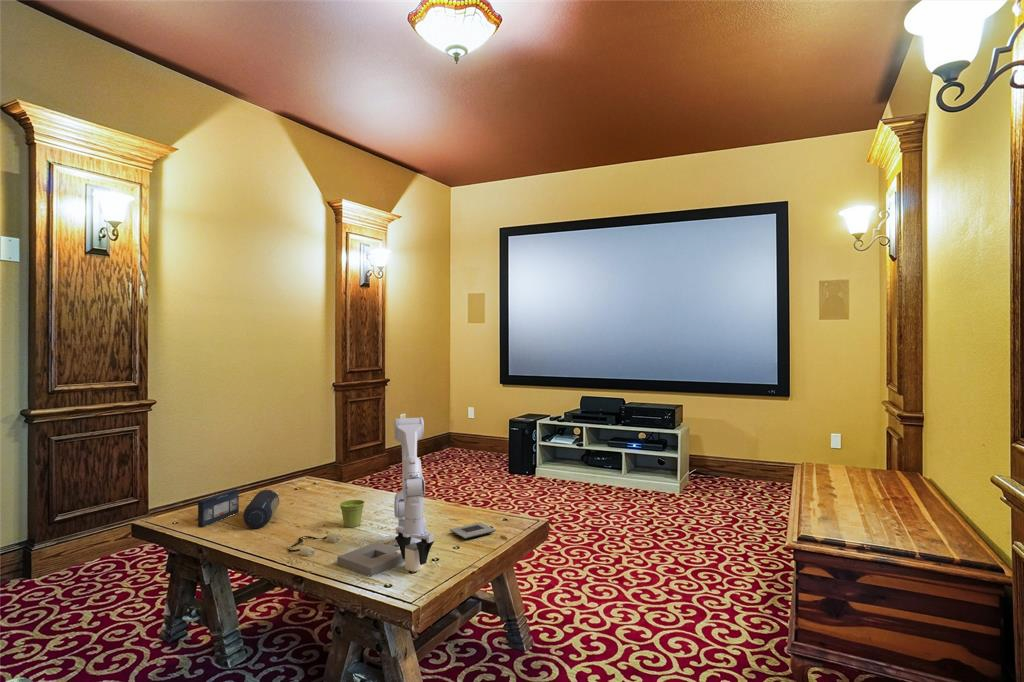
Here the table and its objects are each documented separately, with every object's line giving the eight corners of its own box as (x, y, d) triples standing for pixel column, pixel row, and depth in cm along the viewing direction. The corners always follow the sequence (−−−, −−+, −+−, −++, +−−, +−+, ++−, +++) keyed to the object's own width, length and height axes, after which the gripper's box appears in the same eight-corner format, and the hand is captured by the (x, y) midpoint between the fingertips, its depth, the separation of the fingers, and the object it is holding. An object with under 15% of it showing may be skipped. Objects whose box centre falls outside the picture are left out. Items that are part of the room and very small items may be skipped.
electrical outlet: (464, 543, 198) (464, 536, 198) (449, 534, 206) (449, 528, 206) (495, 535, 205) (495, 528, 205) (480, 527, 214) (480, 521, 214)
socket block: (377, 549, 192) (376, 540, 192) (410, 559, 182) (410, 550, 182) (337, 564, 179) (337, 554, 179) (371, 576, 169) (370, 566, 169)
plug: (414, 564, 178) (414, 542, 178) (423, 567, 176) (423, 545, 176) (405, 568, 175) (404, 546, 175) (414, 571, 173) (414, 548, 173)
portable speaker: (269, 530, 212) (269, 503, 212) (241, 532, 210) (240, 505, 210) (281, 510, 237) (280, 486, 237) (255, 512, 234) (255, 488, 234)
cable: (272, 553, 190) (272, 543, 190) (306, 537, 205) (306, 527, 205) (310, 559, 184) (310, 548, 184) (341, 542, 200) (341, 532, 200)
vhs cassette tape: (202, 527, 215) (202, 501, 215) (196, 527, 216) (196, 501, 216) (240, 513, 233) (239, 489, 232) (234, 513, 233) (234, 488, 233)
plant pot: (339, 523, 219) (338, 500, 219) (364, 520, 222) (364, 498, 222) (339, 530, 211) (339, 507, 210) (365, 527, 213) (365, 504, 213)
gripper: (388, 516, 176) (388, 559, 176) (421, 524, 168) (421, 570, 168) (405, 510, 182) (405, 552, 182) (438, 518, 174) (438, 562, 174)
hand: (414, 560), depth 175 cm, fingers open, 7 cm apart
